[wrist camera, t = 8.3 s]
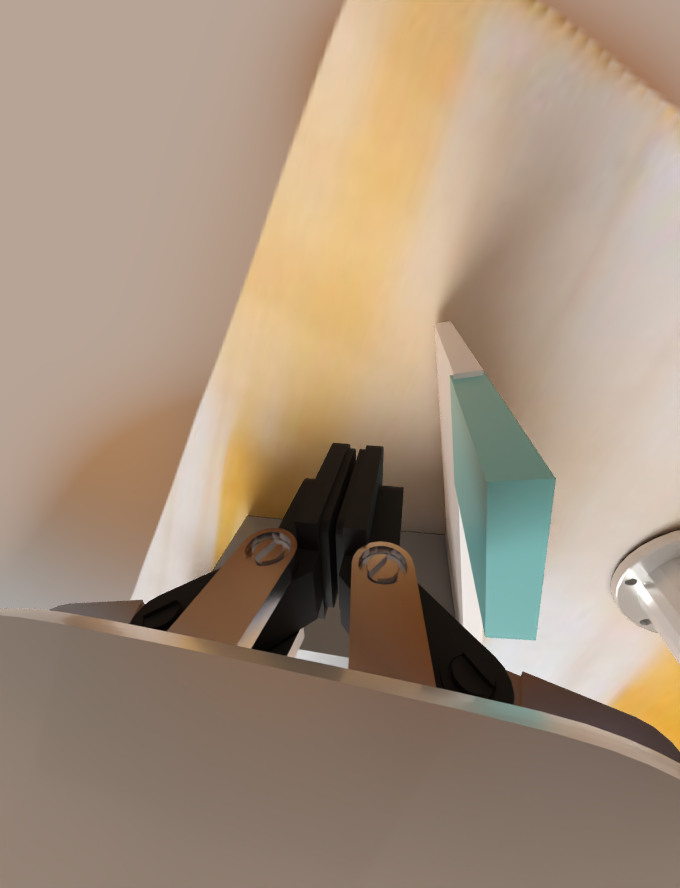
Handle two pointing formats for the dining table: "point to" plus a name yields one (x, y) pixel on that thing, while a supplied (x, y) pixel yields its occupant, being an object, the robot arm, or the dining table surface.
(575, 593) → the dining table surface
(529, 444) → the side door
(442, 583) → the plain gray box
